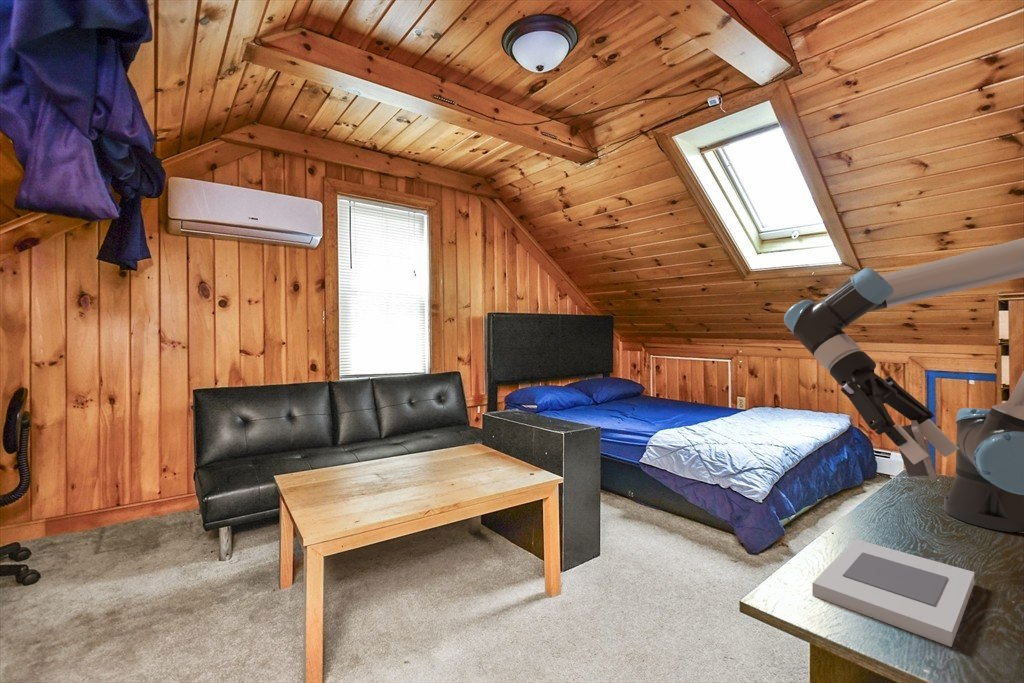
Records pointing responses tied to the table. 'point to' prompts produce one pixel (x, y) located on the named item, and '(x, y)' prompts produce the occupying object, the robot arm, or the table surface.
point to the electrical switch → (925, 465)
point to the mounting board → (898, 589)
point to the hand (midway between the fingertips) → (936, 456)
